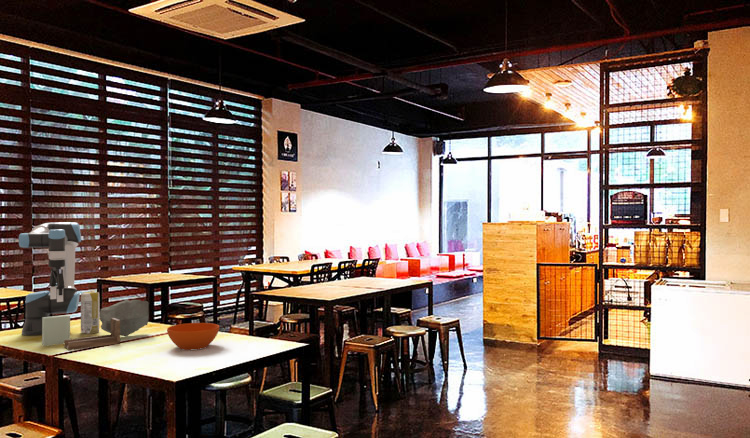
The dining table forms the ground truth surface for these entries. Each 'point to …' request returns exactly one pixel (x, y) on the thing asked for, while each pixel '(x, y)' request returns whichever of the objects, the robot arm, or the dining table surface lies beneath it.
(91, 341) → the track
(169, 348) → the dining table surface
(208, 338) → the bowl
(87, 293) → the juice carton
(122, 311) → the rock
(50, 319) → the door panel
